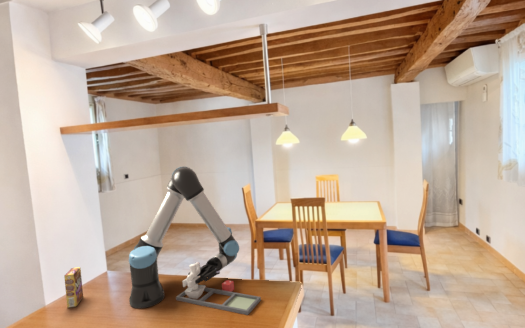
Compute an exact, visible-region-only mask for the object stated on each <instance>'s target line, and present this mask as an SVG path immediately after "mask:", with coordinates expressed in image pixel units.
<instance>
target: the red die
mask: <svg viewBox="0 0 525 328" xmlns="http://www.w3.org/2000/svg"><path fill="white" fill-rule="evenodd" d="M221 288H222V289H221V290H224V291H230V292H234V291H235V282H234V280H229V279H228V280H227V279H226V280H224V282H222V283H221Z"/></svg>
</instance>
